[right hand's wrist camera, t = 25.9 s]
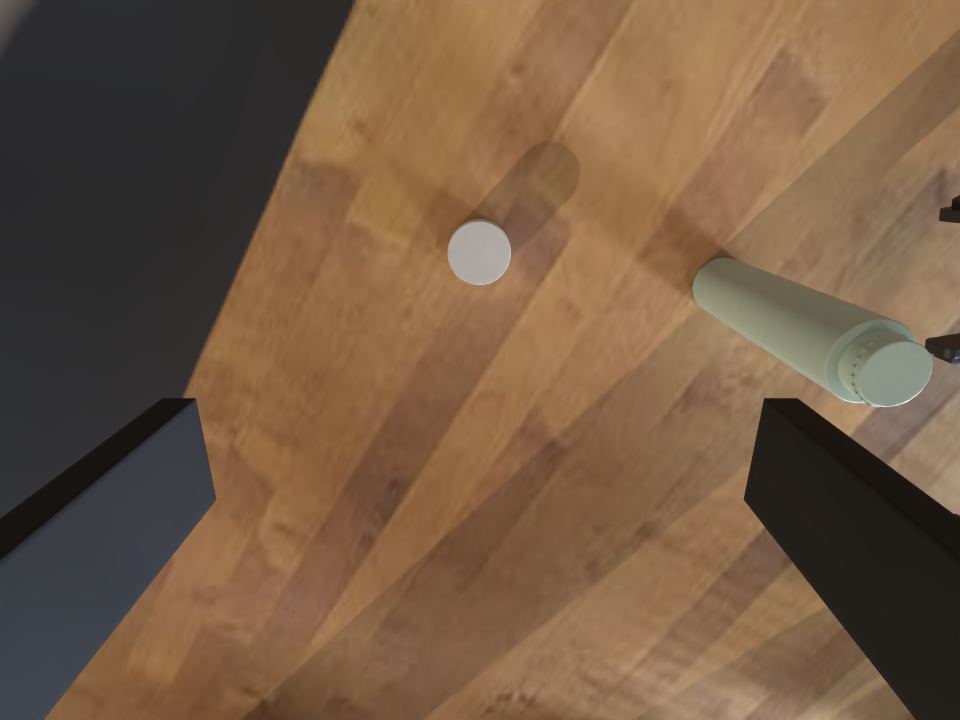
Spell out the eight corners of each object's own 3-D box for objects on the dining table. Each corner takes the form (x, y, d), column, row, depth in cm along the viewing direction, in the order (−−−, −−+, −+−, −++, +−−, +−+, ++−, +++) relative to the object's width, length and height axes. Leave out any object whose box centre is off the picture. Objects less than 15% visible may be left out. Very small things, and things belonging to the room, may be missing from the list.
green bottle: (705, 250, 40) (878, 317, 23) (757, 266, 40) (965, 343, 23) (683, 303, 41) (828, 405, 24) (733, 318, 42) (912, 427, 24)
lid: (480, 291, 41) (480, 297, 39) (436, 251, 40) (434, 255, 38) (521, 248, 40) (523, 251, 38) (477, 205, 39) (477, 207, 37)
